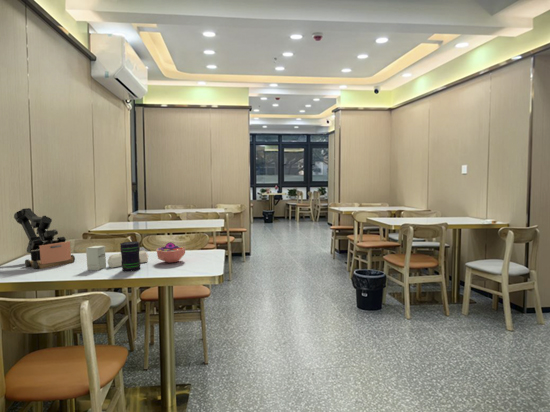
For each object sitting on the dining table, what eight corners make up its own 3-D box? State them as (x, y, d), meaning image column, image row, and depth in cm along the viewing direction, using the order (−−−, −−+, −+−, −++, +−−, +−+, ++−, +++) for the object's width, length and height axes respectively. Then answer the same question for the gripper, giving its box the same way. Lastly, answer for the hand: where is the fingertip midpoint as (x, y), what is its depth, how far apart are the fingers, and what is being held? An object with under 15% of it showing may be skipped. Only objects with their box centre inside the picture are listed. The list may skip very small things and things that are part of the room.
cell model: (155, 266, 235) (154, 246, 234) (157, 260, 254) (156, 241, 253) (185, 264, 238) (184, 244, 237) (186, 257, 258) (185, 239, 257)
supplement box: (98, 270, 232) (97, 247, 231) (87, 270, 233) (85, 247, 232) (106, 267, 239) (105, 245, 238) (95, 267, 240) (93, 245, 239)
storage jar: (140, 267, 236) (138, 240, 235) (141, 270, 226) (139, 243, 225) (121, 269, 232) (119, 242, 231) (121, 272, 223) (119, 245, 222)
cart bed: (24, 266, 252) (23, 259, 252) (62, 259, 270) (62, 252, 270) (37, 269, 241) (36, 261, 241) (76, 262, 259) (75, 255, 259)
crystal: (144, 253, 257) (104, 259, 242) (148, 249, 252) (107, 255, 237) (147, 264, 255) (107, 271, 240) (151, 260, 249) (110, 267, 235)
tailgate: (40, 264, 244) (39, 245, 243) (70, 259, 257) (68, 241, 256) (42, 264, 242) (40, 245, 242) (71, 259, 256) (70, 241, 255)
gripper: (31, 227, 246) (40, 247, 240) (63, 223, 261) (73, 242, 255) (26, 239, 252) (36, 259, 245) (58, 235, 266) (68, 254, 260)
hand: (53, 253), depth 251 cm, fingers closed
